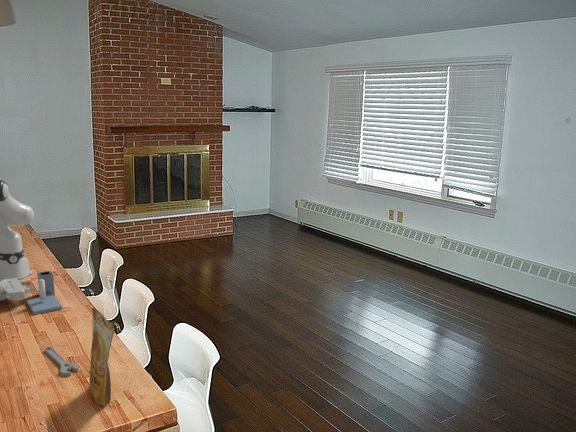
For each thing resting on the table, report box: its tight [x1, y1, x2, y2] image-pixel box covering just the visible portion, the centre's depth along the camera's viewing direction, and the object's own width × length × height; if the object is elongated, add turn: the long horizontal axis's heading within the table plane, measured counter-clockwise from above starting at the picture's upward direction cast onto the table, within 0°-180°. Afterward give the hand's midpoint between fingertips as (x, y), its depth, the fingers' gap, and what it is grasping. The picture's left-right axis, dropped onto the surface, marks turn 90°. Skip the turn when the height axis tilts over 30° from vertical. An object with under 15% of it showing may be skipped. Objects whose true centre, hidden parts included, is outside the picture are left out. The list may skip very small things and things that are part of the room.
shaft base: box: [26, 279, 63, 316], centre depth 250 cm, size 16×12×12 cm
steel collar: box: [36, 270, 56, 297], centre depth 264 cm, size 6×6×11 cm
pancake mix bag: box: [88, 307, 115, 408], centre depth 178 cm, size 7×19×28 cm, turn 30°
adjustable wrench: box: [44, 346, 79, 377], centre depth 202 cm, size 25×6×2 cm, turn 38°
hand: (32, 285), depth 260 cm, fingers open, 8 cm apart
